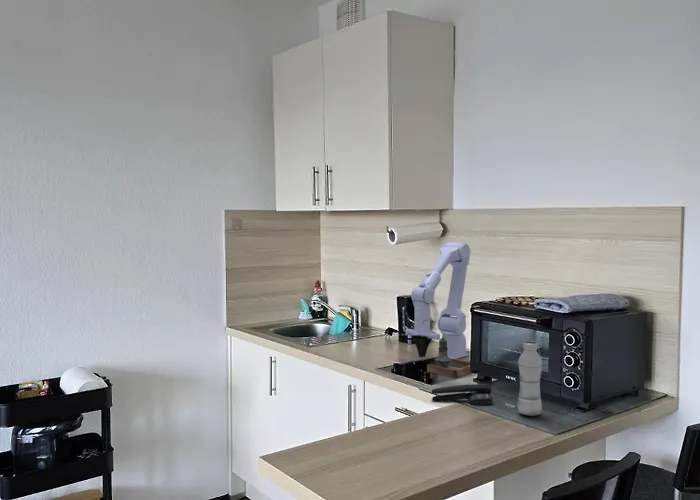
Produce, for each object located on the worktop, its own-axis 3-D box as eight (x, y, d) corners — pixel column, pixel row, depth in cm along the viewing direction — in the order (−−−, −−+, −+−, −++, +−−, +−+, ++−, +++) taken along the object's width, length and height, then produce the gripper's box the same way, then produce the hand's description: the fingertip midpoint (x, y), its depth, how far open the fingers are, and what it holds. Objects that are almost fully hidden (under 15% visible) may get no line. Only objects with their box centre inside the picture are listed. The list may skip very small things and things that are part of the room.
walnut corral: (451, 364, 229) (451, 358, 229) (479, 370, 220) (479, 363, 220) (427, 371, 219) (427, 364, 219) (455, 378, 211) (455, 370, 210)
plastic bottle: (518, 418, 169) (519, 344, 168) (515, 410, 176) (516, 339, 175) (543, 419, 168) (544, 345, 167) (539, 411, 175) (540, 340, 174)
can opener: (491, 399, 187) (491, 381, 186) (493, 407, 180) (493, 387, 179) (431, 397, 189) (431, 379, 189) (430, 404, 182) (431, 385, 182)
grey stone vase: (432, 370, 222) (432, 336, 221) (438, 366, 227) (438, 333, 226) (447, 372, 219) (448, 337, 218) (453, 368, 224) (453, 335, 223)
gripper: (400, 318, 231) (399, 355, 232) (431, 323, 221) (431, 361, 222) (412, 316, 236) (412, 352, 237) (443, 321, 226) (443, 358, 227)
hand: (422, 356), depth 229 cm, fingers closed
